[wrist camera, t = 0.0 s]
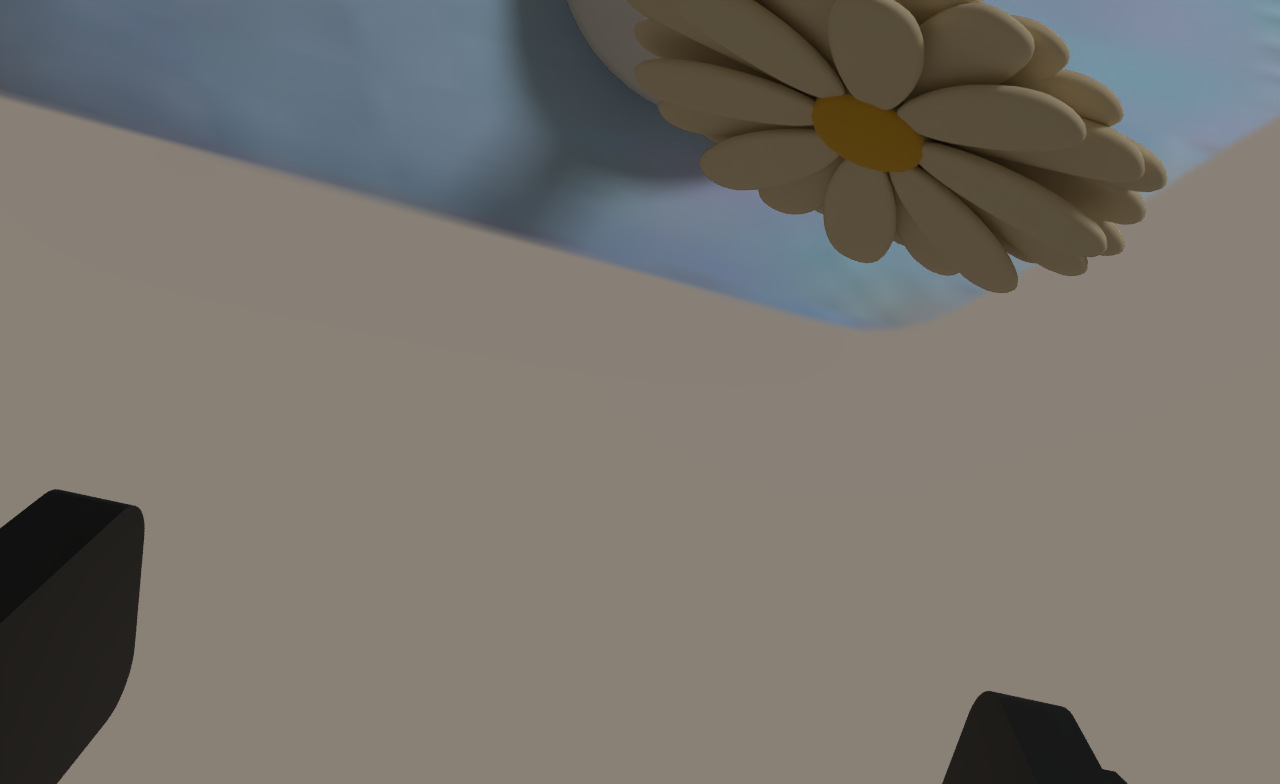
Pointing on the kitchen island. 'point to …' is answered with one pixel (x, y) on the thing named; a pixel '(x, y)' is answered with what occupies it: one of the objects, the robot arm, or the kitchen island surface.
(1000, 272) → the flower in vase
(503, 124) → the kitchen island surface
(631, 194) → the kitchen island surface
